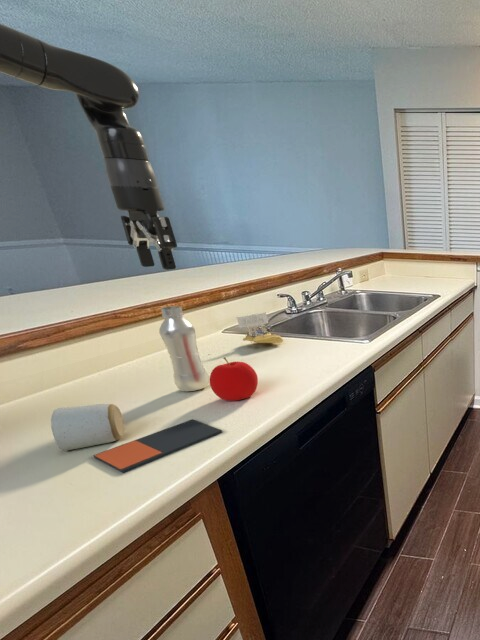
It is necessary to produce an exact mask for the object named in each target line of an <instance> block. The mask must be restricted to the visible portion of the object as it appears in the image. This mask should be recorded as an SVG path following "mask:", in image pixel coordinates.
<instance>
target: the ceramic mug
mask: <svg viewBox="0 0 480 640" xmlns="http://www.w3.org/2000/svg"><path fill="white" fill-rule="evenodd" d="M50 426H51V432H52V436H53V438H54V439H53V440H54V441H55V443H56V445H57V446H58V448H59V449H60V450H61V451H64V452H65V451H66V452H67V451H71V450H72V451H73V450H77V449H78V450H79V449H83V448H89V447H93V446H97V445H103V444H108V443H109V444H110V443H113V442H116V441H119V440H120V439H122V438H123V437H124V434H125V423H124V418H123V415H122V412H121V410H120V408H119V407H118V406H117V405H116V404H114V403H98V404H90V405H89V404H88V405H79V406H66V407H57V408H55V409H54V410H52V414H51V418H50Z"/></svg>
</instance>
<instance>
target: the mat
mask: <svg viewBox="0 0 480 640" xmlns="http://www.w3.org/2000/svg"><path fill="white" fill-rule="evenodd" d="M220 434H223V430H222V429H219V428H218V427H214V426H212V425H209V424H206V423H203V422H201V421H198V420H196V419H193V418H192V419H189V420H186V421H184V422H181V423H178V424H175V425H173V426H170V427H168V428H165V429H164V428H163V429H162V430H160V431H156V432H154V433H151V434H148V435H145V436H142V437H139V438H137V439H134V440H131V441H129V442H126V443H122V444H121V445H118V446H115V447H112V448H110V449H107V450H104V451H100V452H99V453H96V454H93V458H94V459H95V460H97V461H99V462H101V463H103V464H104V465H107V466H109V467H111V468H113V469H115V470H117V471H118V472H120V473H122V474H125V473H127V472H130V471H133V470H135V469H137V468H140V467H143V466H144V465H145V466H146V465H147V464H149V463H152V462H155V461H157V460H159V459H162V458H165V457H167V456H169V455H171V454H174V453H176V452H179V451H182V450H183V449H184V450H185V449H187V448H188V447H191V446H194V445H196V444H198V443H201V442H203V441H206V440H208V439H210V438H213V437H215V436H218V435H220Z"/></svg>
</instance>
